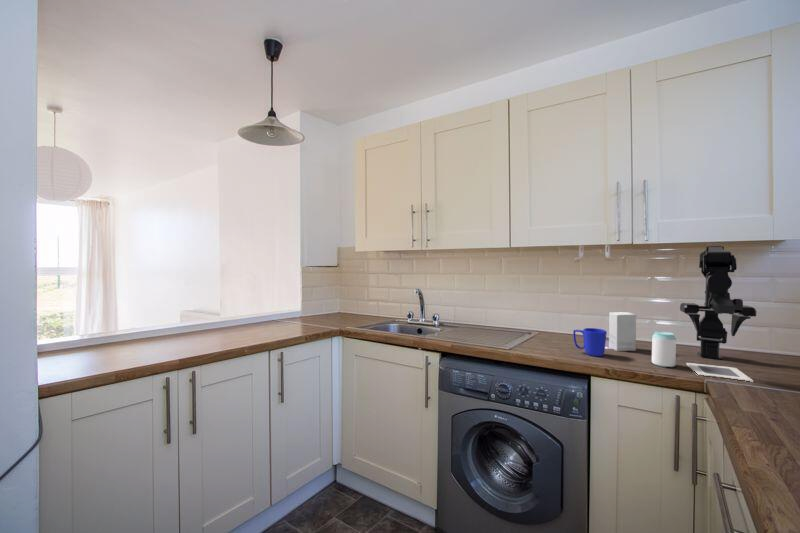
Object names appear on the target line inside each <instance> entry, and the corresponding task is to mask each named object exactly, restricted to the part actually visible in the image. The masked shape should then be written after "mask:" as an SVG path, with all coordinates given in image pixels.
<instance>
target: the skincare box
mask: <svg viewBox="0 0 800 533" xmlns="http://www.w3.org/2000/svg"><path fill="white" fill-rule="evenodd" d="M608 314H609V322H608V324H609V325H608V326H609V327H608V329H609V330H608V340H609V346H610V347H612V348H613V349H612V350H614V351H616V352H620V351H621V352H623V351H624V352H627V351H630V352H631V351H636V348H637V347H636V345H637V344H636V338H637V336H636V335H637V314H635V313H633V312H628V311H622V312H620V311H618V312H614V311H612V312H609V313H608Z"/></svg>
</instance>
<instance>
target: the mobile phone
mask: <svg viewBox="0 0 800 533" xmlns="http://www.w3.org/2000/svg"><path fill="white" fill-rule="evenodd" d="M605 349H606V350H614V349H613V348H612V347H610V346H609V339H606V342H605Z"/></svg>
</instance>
